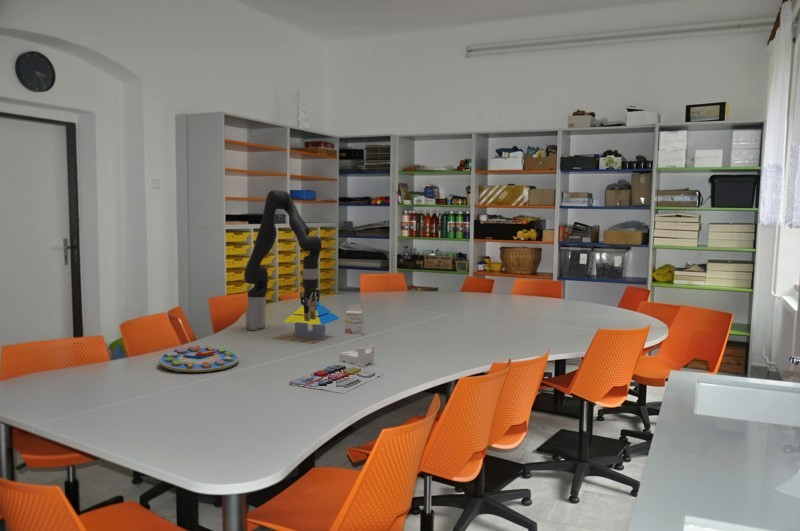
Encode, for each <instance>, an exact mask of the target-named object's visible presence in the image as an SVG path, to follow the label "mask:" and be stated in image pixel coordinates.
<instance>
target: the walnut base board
mask: <svg viewBox="0 0 800 531" xmlns="http://www.w3.org/2000/svg"><path fill="white" fill-rule="evenodd" d="M334 337H336V336H335V335H327V334H325V340H328V339H331V338H334ZM270 339H273V340H280V341H288V342H295V343H296V342H297V343H305V344H311V345H312V344H316V343H317V344H318V343H319V342H322V341H325V340H317V339H309V338H300V337H295V331H292V332H287V333H284V334H280V335H277V336H275V337H274V336H273V337H271V338H270Z"/></svg>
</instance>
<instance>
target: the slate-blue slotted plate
mask: <svg viewBox="0 0 800 531" xmlns="http://www.w3.org/2000/svg"><path fill="white" fill-rule="evenodd" d="M308 325H309V324H308V323H301V322H296V323H294V332H295V337H300V338H309V339H317V340H323V341H325V335H326V324H324V325H320V324H313V325H312V326H311V328H312V330H310V329H309V328H308V327H309V326H308Z"/></svg>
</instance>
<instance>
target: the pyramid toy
mask: <svg viewBox="0 0 800 531" xmlns="http://www.w3.org/2000/svg"><path fill="white" fill-rule="evenodd" d="M337 319H339V320H341V319H340V318H339V317H338V316H337V315H336V314H334V313H333V312H332V311H331V310H330V309H328V308H327V307H326V306H324V305H323V304H322V303H321V302H320V301H319V302H317V304H316V319H315V320H314V319H310V321H304V305H301V306H300V307H298V309H296V310H295V311H294V312H293V313H292V314H291V315H289V316H288V317H287V318H286V319H285V320H284V321H283V323H288V322H292V323H291V324H295V323H296V322H301V323H308V325H310V324H311V325H313V324H320V325H323V324H324V325H327V324H329V322H330V323H333V322H335V321H334V320H336V321H338V320H337ZM332 321H333V322H332ZM326 323H327V324H326Z"/></svg>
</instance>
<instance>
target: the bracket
mask: <svg viewBox="0 0 800 531" xmlns="http://www.w3.org/2000/svg"><path fill="white" fill-rule="evenodd" d="M338 355H339V357H338V361H339V360H340V361H339V362H341V361H345V362H350V363H355V364H360V365H365V364H368V365H369V364H370V363H374V362H375V345H372V344H368V345H367V347H366V350H365V348H364V347H361V346H359V347H357V351H354V350H348V351H343V352H339V353H338ZM345 362H344V363H345ZM350 363H349V364H350ZM365 366H366V365H365Z"/></svg>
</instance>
